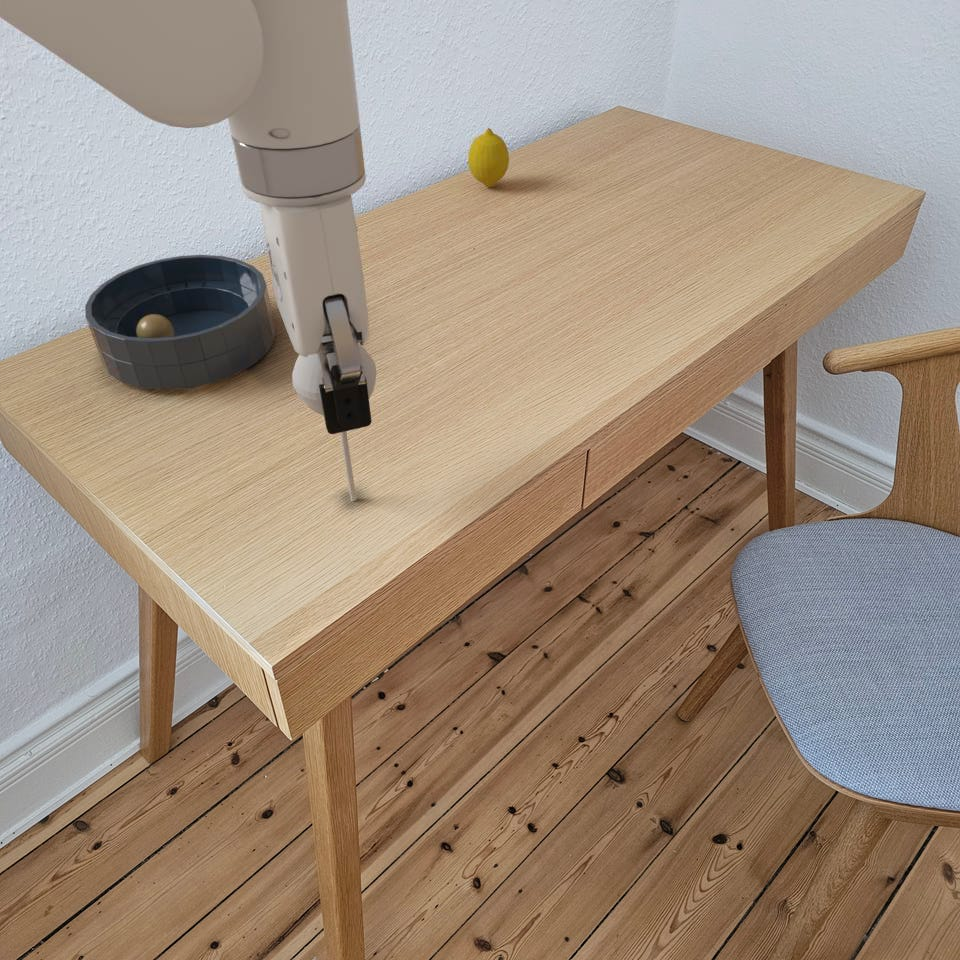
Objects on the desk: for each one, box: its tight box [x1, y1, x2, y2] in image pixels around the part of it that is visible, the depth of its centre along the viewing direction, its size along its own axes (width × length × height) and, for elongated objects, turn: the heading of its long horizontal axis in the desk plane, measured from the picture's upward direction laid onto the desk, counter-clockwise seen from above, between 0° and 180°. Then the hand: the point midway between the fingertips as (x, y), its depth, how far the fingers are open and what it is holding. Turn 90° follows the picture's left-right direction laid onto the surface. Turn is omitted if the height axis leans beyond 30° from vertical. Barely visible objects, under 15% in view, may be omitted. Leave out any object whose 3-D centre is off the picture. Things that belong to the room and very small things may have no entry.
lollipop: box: [291, 336, 378, 502], centre depth 64 cm, size 6×6×15 cm
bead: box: [136, 314, 174, 338], centre depth 85 cm, size 4×4×4 cm
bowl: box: [84, 254, 277, 391], centre depth 86 cm, size 17×17×6 cm
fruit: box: [467, 127, 510, 188], centre depth 115 cm, size 6×6×8 cm
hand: (338, 400), depth 63 cm, fingers closed on lollipop, 6 cm apart
